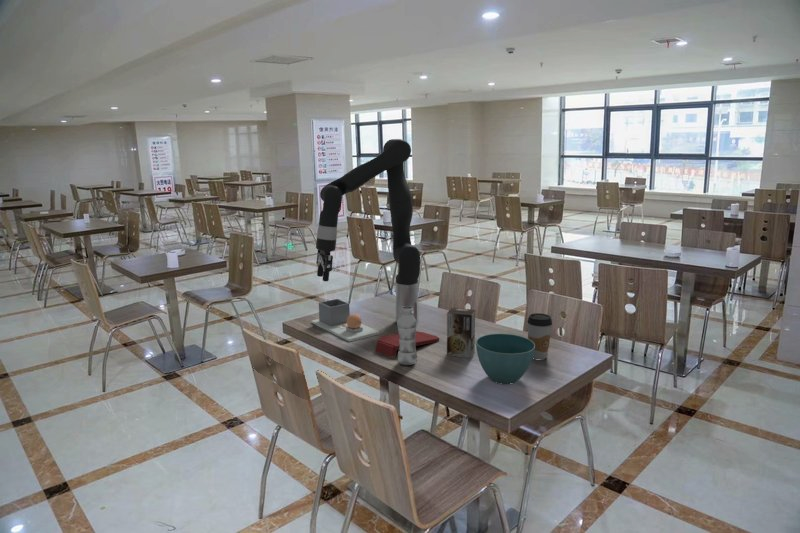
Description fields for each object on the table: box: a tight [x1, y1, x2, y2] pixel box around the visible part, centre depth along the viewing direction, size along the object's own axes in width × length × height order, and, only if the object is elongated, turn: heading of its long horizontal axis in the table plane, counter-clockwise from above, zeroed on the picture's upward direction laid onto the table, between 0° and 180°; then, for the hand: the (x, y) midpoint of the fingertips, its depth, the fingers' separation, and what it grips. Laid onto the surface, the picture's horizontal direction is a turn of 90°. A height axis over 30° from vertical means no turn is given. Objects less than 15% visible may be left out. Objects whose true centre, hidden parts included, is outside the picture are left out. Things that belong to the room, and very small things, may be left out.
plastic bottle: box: [396, 306, 418, 366], centre depth 187 cm, size 6×7×20 cm
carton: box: [375, 330, 440, 358], centre depth 206 cm, size 12×5×25 cm
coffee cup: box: [527, 312, 553, 360], centre depth 193 cm, size 8×8×15 cm
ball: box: [347, 313, 363, 329], centre depth 218 cm, size 6×6×6 cm
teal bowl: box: [475, 333, 535, 385], centre depth 175 cm, size 18×18×12 cm
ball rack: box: [311, 298, 380, 342], centre depth 224 cm, size 29×14×9 cm, turn 38°
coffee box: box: [446, 307, 476, 359], centre depth 196 cm, size 9×6×16 cm
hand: (322, 278), depth 215 cm, fingers open, 8 cm apart
